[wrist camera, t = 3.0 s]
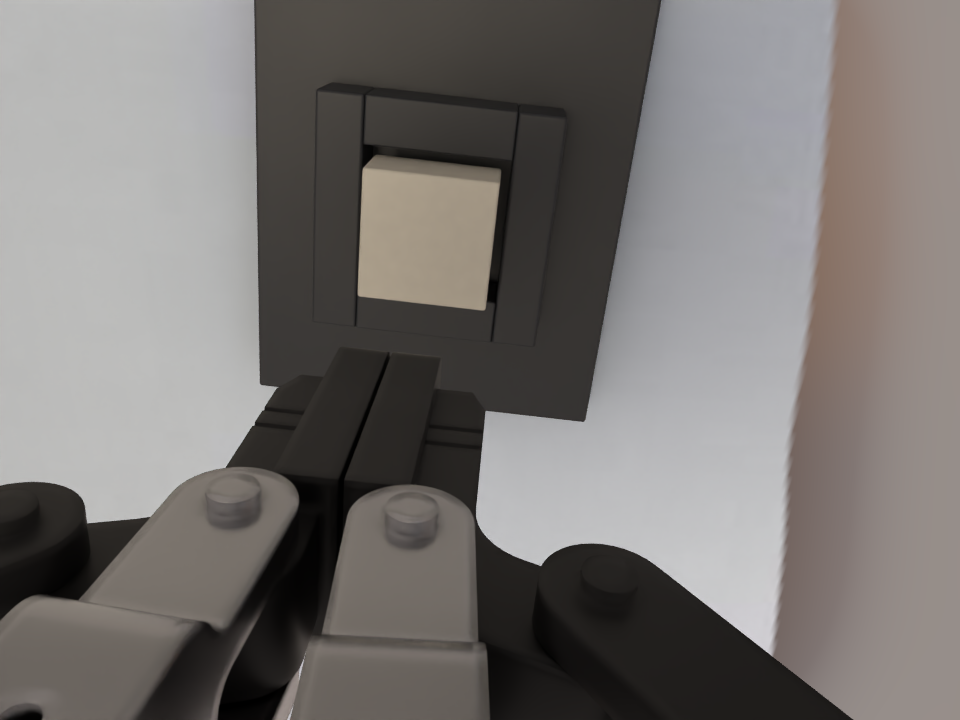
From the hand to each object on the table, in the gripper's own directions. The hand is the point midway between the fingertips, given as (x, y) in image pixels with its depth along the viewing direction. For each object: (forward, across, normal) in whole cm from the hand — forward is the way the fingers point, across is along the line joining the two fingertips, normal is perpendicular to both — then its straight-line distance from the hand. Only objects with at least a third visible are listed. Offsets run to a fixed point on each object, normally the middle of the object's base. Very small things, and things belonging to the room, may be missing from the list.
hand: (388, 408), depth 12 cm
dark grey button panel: (+12, 0, 0) cm, 12 cm away
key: (+10, 0, 0) cm, 10 cm away
